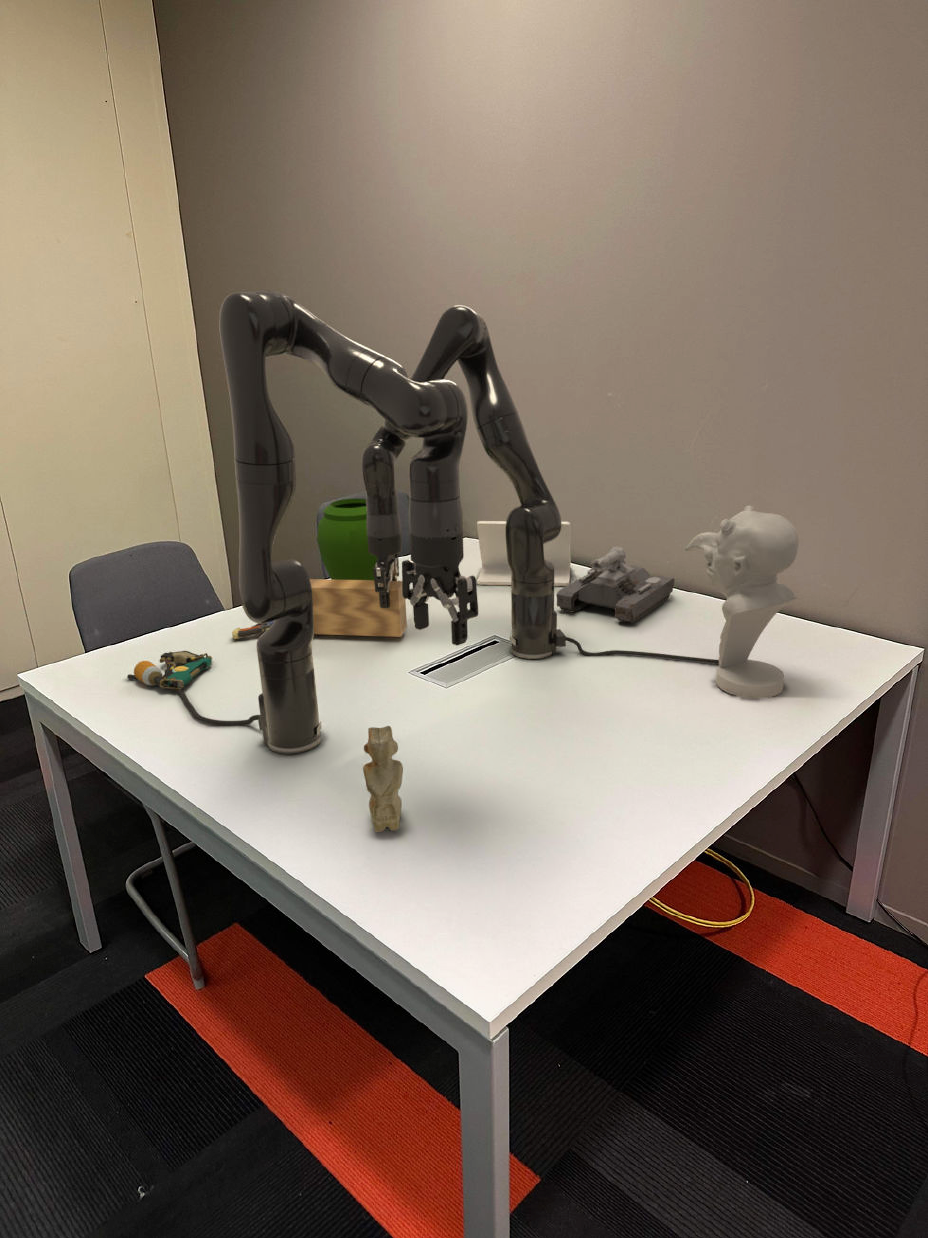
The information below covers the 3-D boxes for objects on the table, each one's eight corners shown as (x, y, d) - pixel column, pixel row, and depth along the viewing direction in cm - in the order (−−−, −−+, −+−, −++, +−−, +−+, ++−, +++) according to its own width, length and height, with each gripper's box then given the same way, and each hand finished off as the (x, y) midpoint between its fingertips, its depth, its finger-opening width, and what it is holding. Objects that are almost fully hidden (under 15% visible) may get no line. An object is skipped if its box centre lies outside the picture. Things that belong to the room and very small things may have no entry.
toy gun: (228, 631, 198) (268, 628, 196) (261, 608, 215) (298, 605, 213) (230, 642, 198) (270, 639, 196) (263, 618, 216) (300, 616, 214)
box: (407, 626, 200) (404, 580, 196) (401, 636, 195) (398, 589, 191) (294, 623, 205) (289, 578, 201) (285, 633, 199) (279, 587, 195)
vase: (409, 587, 231) (404, 499, 223) (364, 609, 216) (357, 515, 208) (353, 577, 241) (346, 492, 233) (306, 597, 226) (297, 507, 218)
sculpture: (406, 808, 131) (401, 721, 126) (405, 835, 125) (400, 745, 119) (368, 810, 131) (361, 723, 126) (365, 837, 124) (358, 747, 119)
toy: (603, 584, 229) (605, 530, 224) (673, 597, 218) (677, 540, 213) (555, 612, 210) (556, 553, 205) (630, 627, 199) (633, 566, 194)
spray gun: (177, 659, 191) (231, 671, 185) (120, 684, 176) (176, 698, 171) (176, 641, 190) (230, 653, 184) (118, 665, 175) (174, 678, 169)
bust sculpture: (717, 648, 186) (730, 489, 174) (806, 688, 166) (828, 512, 154) (660, 663, 179) (669, 500, 167) (745, 707, 159) (763, 525, 147)
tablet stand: (569, 585, 229) (570, 524, 223) (476, 584, 232) (475, 523, 226) (570, 566, 246) (571, 508, 240) (484, 564, 249) (483, 507, 243)
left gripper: (384, 524, 122) (390, 630, 128) (448, 543, 112) (452, 656, 118) (424, 515, 127) (429, 617, 133) (490, 532, 117) (492, 641, 122)
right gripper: (376, 523, 197) (380, 592, 203) (358, 540, 184) (364, 613, 190) (407, 523, 196) (411, 592, 202) (392, 540, 182) (397, 613, 188)
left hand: (440, 635), depth 125 cm, fingers open, 8 cm apart
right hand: (388, 602), depth 195 cm, fingers closed on box, 6 cm apart
